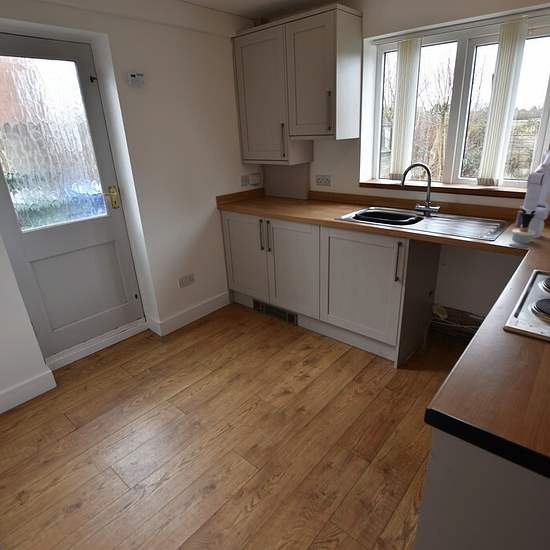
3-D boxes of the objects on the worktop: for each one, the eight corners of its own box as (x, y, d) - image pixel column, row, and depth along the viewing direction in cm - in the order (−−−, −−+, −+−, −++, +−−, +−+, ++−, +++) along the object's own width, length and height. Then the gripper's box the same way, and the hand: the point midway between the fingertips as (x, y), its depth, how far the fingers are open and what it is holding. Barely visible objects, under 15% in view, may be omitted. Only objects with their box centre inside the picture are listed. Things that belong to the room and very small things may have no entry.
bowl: (517, 238, 191) (519, 229, 190) (533, 242, 185) (536, 233, 183) (508, 240, 188) (510, 232, 186) (525, 244, 181) (527, 235, 180)
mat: (513, 243, 183) (514, 242, 183) (531, 247, 177) (531, 246, 176) (504, 246, 179) (505, 245, 179) (522, 250, 173) (522, 249, 173)
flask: (514, 226, 213) (518, 208, 209) (515, 225, 215) (519, 207, 211) (533, 229, 208) (538, 210, 204) (534, 228, 210) (539, 209, 206)
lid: (518, 229, 191) (519, 221, 190) (539, 233, 183) (541, 226, 182) (507, 231, 186) (509, 224, 185) (528, 236, 178) (530, 228, 177)
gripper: (522, 195, 186) (516, 221, 191) (521, 199, 175) (514, 227, 180) (539, 196, 182) (532, 223, 187) (539, 201, 171) (532, 229, 176)
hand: (525, 225), depth 183 cm, fingers open, 7 cm apart
